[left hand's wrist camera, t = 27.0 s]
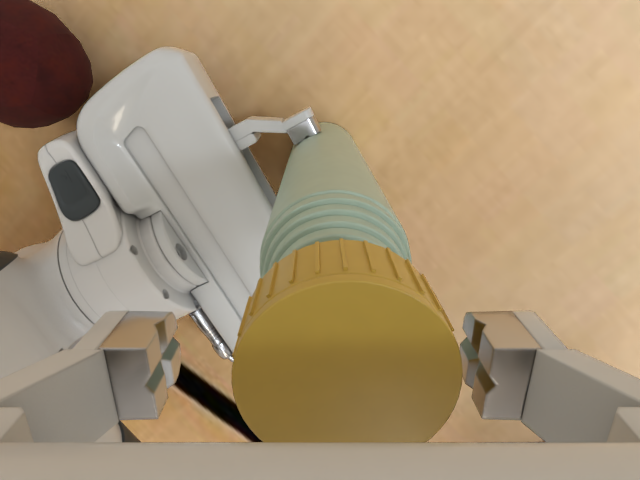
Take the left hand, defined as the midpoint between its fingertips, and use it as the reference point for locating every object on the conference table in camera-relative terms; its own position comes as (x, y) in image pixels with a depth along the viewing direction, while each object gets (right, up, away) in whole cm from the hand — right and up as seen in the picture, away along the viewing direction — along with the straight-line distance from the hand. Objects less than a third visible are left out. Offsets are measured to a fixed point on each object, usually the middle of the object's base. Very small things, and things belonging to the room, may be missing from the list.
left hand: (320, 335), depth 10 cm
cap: (0, 0, -2) cm, 2 cm away
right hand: (+1, +7, +16) cm, 17 cm away
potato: (-18, +14, +19) cm, 29 cm away
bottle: (0, +8, +21) cm, 23 cm away
